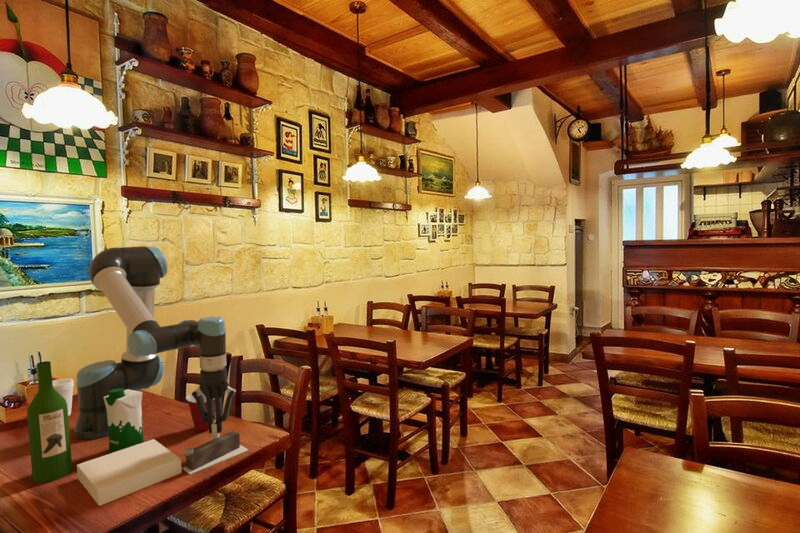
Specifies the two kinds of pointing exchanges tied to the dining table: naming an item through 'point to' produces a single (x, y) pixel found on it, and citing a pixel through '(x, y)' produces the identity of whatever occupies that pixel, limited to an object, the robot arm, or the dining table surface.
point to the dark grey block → (211, 450)
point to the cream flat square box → (127, 471)
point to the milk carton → (124, 418)
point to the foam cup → (65, 390)
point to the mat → (217, 460)
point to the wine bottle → (48, 430)
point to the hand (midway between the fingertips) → (216, 442)
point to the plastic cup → (195, 413)
